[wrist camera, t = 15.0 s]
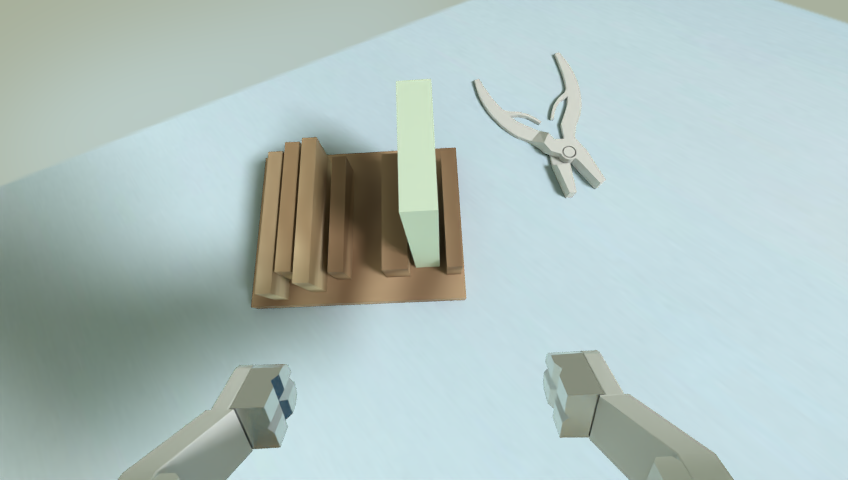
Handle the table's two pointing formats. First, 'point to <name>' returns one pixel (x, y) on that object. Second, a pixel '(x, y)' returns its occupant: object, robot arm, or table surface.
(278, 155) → the offcut rack
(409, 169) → the pale green flat block
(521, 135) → the pliers
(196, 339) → the table surface
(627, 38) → the table surface
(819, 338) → the table surface
